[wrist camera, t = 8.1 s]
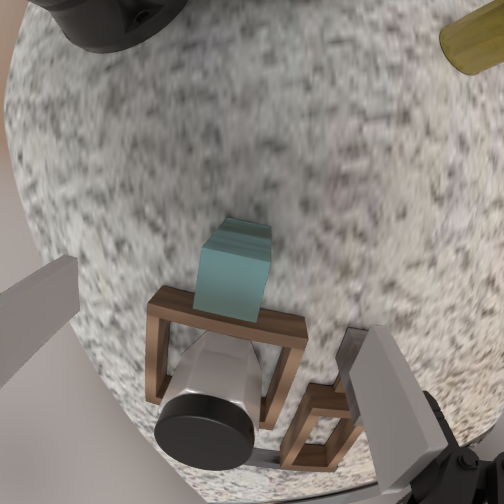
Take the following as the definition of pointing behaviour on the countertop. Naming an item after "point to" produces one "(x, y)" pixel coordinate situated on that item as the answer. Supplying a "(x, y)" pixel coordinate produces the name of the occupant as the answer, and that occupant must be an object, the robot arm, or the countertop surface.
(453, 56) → the vase
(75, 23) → the robot arm
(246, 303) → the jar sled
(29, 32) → the countertop surface
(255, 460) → the end bar
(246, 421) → the jar
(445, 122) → the countertop surface
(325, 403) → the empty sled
